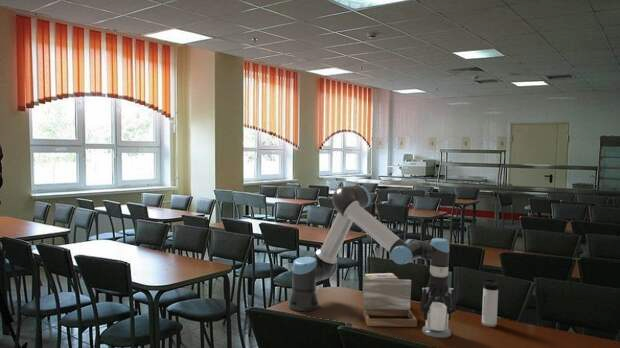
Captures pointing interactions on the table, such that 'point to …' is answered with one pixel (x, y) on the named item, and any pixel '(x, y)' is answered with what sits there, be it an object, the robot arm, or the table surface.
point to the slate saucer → (436, 332)
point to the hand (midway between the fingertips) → (436, 327)
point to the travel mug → (490, 303)
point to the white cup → (437, 316)
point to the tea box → (381, 276)
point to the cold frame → (388, 302)
